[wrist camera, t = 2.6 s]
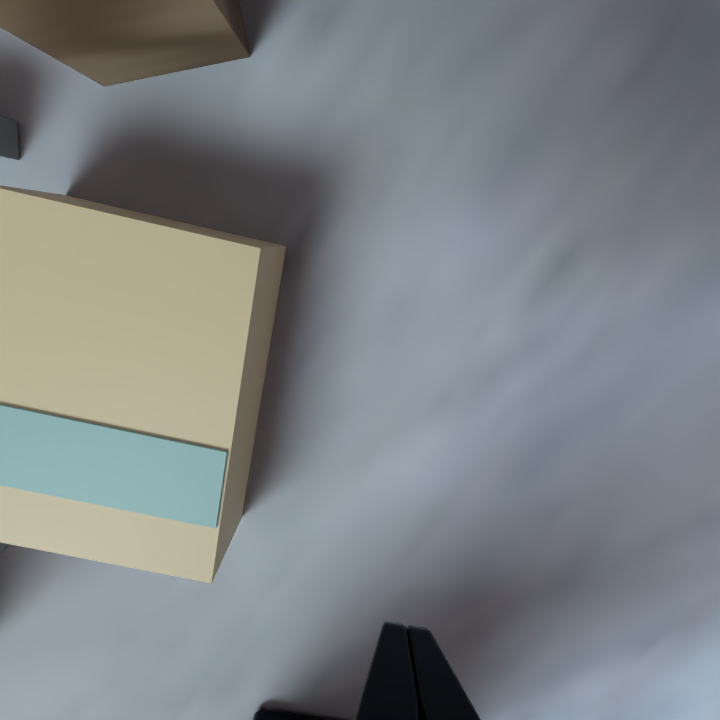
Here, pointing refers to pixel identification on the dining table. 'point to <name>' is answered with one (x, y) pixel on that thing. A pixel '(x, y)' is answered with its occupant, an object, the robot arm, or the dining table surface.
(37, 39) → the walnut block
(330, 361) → the dining table surface
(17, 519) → the carton
